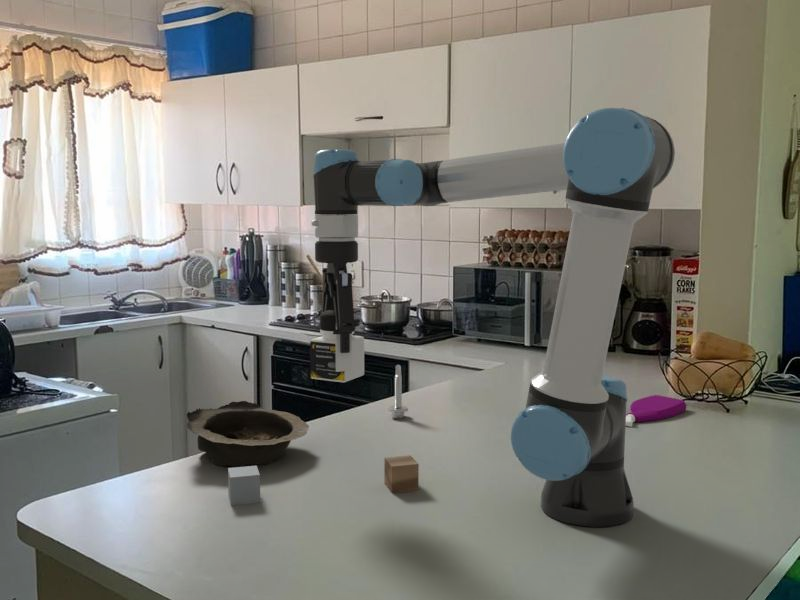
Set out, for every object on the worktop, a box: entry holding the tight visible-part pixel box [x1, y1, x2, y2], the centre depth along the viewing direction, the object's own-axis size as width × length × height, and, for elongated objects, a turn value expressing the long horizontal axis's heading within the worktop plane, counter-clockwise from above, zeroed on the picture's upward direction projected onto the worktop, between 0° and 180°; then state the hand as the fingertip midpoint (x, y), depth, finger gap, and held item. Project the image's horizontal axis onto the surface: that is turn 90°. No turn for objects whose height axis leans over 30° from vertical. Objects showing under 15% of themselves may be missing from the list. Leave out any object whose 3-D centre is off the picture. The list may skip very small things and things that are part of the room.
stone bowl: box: [186, 400, 310, 468], centre depth 160 cm, size 25×25×9 cm
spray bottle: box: [625, 394, 687, 428], centre depth 191 cm, size 3×11×24 cm
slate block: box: [227, 465, 261, 506], centre depth 137 cm, size 5×5×5 cm
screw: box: [387, 364, 409, 419], centre depth 189 cm, size 13×5×5 cm
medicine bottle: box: [309, 310, 365, 383], centre depth 140 cm, size 7×7×12 cm
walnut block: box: [383, 455, 420, 494], centre depth 143 cm, size 5×5×5 cm
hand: (337, 364), depth 140 cm, fingers closed on medicine bottle, 10 cm apart
